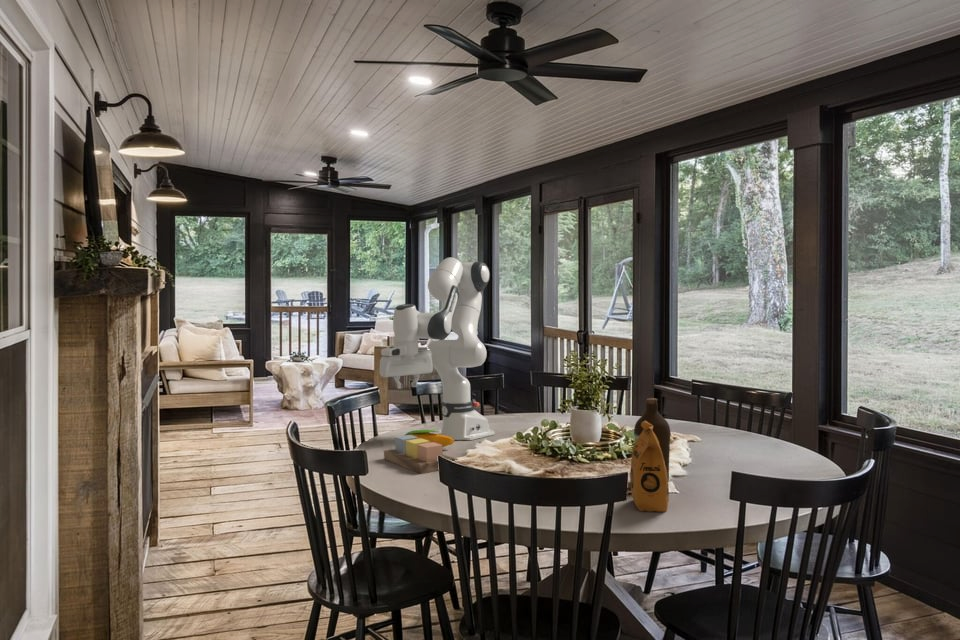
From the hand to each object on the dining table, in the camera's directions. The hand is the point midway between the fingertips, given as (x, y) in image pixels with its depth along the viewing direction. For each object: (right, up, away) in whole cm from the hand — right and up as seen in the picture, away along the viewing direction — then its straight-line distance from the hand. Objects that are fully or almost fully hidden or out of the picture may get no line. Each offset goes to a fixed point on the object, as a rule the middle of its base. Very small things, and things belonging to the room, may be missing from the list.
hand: (407, 387), depth 256 cm
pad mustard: (+5, -22, -13) cm, 26 cm away
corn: (+7, -24, +8) cm, 26 cm away
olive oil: (+78, -25, -41) cm, 92 cm away
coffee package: (+72, -26, -65) cm, 100 cm away
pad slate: (+1, -22, -6) cm, 23 cm away
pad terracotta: (+10, -22, -19) cm, 31 cm away
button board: (+5, -25, -13) cm, 28 cm away
